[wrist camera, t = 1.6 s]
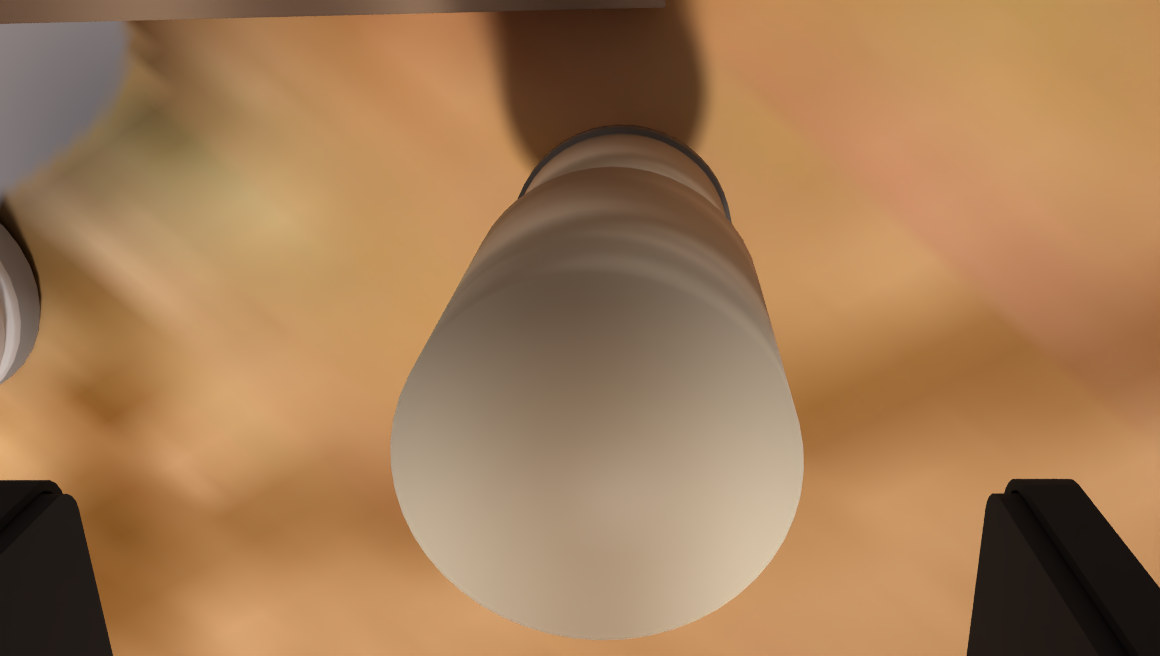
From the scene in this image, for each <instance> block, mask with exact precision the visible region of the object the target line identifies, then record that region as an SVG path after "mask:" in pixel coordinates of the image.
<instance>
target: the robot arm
mask: <svg viewBox="0 0 1160 656" xmlns="http://www.w3.org/2000/svg"><path fill="white" fill-rule="evenodd" d="M0 656H113V654H112V650H111V645H110V641H109V637H108V632H107V628H106V624H105V619H104V615H103V611H102V607H101V602H100V598H99V594H98V589H97V585H96V581H95V577H94V572H93V568H92V564H91V559H90V555H89V551H88V547H87V542H86V538H85V534H84V529H83V525H82V521H81V517H80V512H79V508H78V506H77V503H76V501H75V499H74V498H73V497H72V496H70V495H68V494H63V493H62V490H61V489H60V488H59V487H58V485H57V484H56V483H54V482H52V481H50V480H0ZM967 656H1160V588H1159V587H1158V585H1157V584H1156V583H1155V581H1154V580H1153V579H1152V578H1151V576H1150V575H1149V574H1148V572H1147V571H1146V570H1145V569H1144V567H1143V566H1142V565H1141V564H1140V562H1139V561H1138V560H1137V558H1136V557H1135V556H1134V555H1133V553H1132V552H1131V551H1130V550H1129V548H1128V547H1127V546H1126V544H1125V543H1124V542H1123V541H1122V539H1121V538H1120V537H1119V535H1118V534H1117V533H1116V532H1115V530H1114V529H1113V528H1112V527H1111V525H1110V524H1109V523H1108V521H1107V520H1106V519H1105V518H1104V516H1103V515H1102V514H1101V513H1100V511H1099V510H1098V509H1097V507H1096V506H1095V505H1094V504H1093V502H1092V501H1091V500H1090V498H1089V497H1088V496H1087V495H1086V493H1085V492H1084V491H1083V490H1082V488H1081V487H1080V486H1079V484H1077V483H1076V482H1075V481H1074V480H1072V479H1012V480H1011V481H1010V482H1009V483H1008V485H1007V487H1006V489H1005V493H1004V494H991V495H990V496H989V498H988V501H987V504H986V509H985V517H984V525H983V533H982V540H981V548H980V556H979V564H978V572H977V579H976V587H975V595H974V603H973V611H972V618H971V626H970V634H969V642H968V650H967Z"/></svg>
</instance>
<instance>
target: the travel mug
mask: <svg viewBox="0 0 1160 656" xmlns="http://www.w3.org/2000/svg"><path fill="white" fill-rule="evenodd" d="M39 320H40V304H39V297H38V289H37V285H36V282H35V279H34V276H33V273H32V270H31V267H30V265H29V263H28V261H27V260H26V258H25V256H24V254H23V252H22V250H21V248H20V247H19V245H18V244H17V243H16V241H15V240H14V239H13V237H12V236H11V235H10V234H9V232H8V231H7V230H6V228H5V227H4V226H3V225H2V224H1V223H0V384H1V383H3V382H4V381H6V380H7V379H9V378H10V377H11V376H12V375H13V374H14V373H15V372H16V371H17V370H18V369H19V368H20V367H21V366H22V365H23V364H24V363H25V361H26V359H27V358H28V356H29V354H30V353H31V351H32V349H33V347H34V344H35V341H36V337H37V334H38V331H39Z"/></svg>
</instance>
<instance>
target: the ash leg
mask: <svg viewBox="0 0 1160 656" xmlns="http://www.w3.org/2000/svg"><path fill="white" fill-rule="evenodd" d="M390 445H391V469H392V475H393V480H394V486H395V491H396V494H397V498H398V501H399V504H400V507H401V510H402V513H403V515H404V517H405V519H406V521H407V523H408V526H409V528H410V530H411V532H412V534H413V536H414V537H415V539H416V540H417V542H418V543H419V545H420V546H421V548H422V549H423V551H424V552H425V554H426V555H427V557H428V558H429V559H430V560H431V561H432V562H433V564H434V565H435V566H436V567H437V568H438V569H439V571H440V572H441V573H442V574H443V575H444V576H445V577H446V578H447V579H448V580H450V581H451V582H452V583H453V584H454V585H455V586H456V587H457V588H458V589H459V590H461V591H462V592H463V593H465V594H466V595H467V596H469V597H470V598H472V599H473V600H474V601H476V602H477V603H479V604H480V605H482V606H483V607H485V608H487V609H489V610H491V611H492V612H494V613H496V614H498V615H499V616H501V617H503V618H506V619H508V620H511V621H513V622H515V623H518V624H520V625H522V626H525V627H528V628H531V629H535V630H538V631H541V632H545V633H548V634H553V635H558V636H564V637H569V638H576V639H589V640H620V639H630V638H637V637H644V636H650V635H654V634H658V633H661V632H665V631H669V630H673V629H676V628H678V627H681V626H683V625H686V624H688V623H691V622H694V621H696V620H698V619H700V618H702V617H704V616H706V615H708V614H709V613H711V612H713V611H715V610H717V609H719V608H720V607H721V606H723V605H724V604H726V603H727V602H729V601H730V600H731V599H733V598H734V597H736V596H737V595H738V594H740V593H741V592H742V591H743V590H744V589H745V588H746V587H747V586H748V585H749V584H751V583H752V582H753V581H754V580H755V579H756V578H757V577H758V576H759V574H760V573H761V572H762V571H763V570H764V568H765V567H766V566H767V565H768V564H769V562H770V561H771V560H772V558H773V557H774V555H775V554H776V552H777V551H778V549H779V547H780V546H781V544H782V543H783V541H784V539H785V537H786V535H787V533H788V530H789V528H790V526H791V524H792V521H793V519H794V516H795V513H796V509H797V506H798V502H799V499H800V495H801V488H802V480H803V472H804V464H803V443H802V437H801V431H800V425H799V421H798V417H797V414H796V410H795V407H794V403H793V400H792V396H791V392H790V389H789V385H788V382H787V378H786V375H785V371H784V368H783V364H782V361H781V357H780V354H779V350H778V347H777V343H776V340H775V336H774V333H773V329H772V326H771V322H770V319H769V315H768V312H767V308H766V305H765V301H764V298H763V294H762V291H761V287H760V284H759V280H758V276H757V273H756V270H755V267H754V264H753V261H752V258H751V256H750V254H749V251H748V249H747V247H746V245H745V243H744V241H743V239H742V238H741V236H740V235H739V234H738V232H737V231H736V229H735V228H734V226H733V225H732V223H731V217H730V212H729V208H728V204H727V201H726V198H725V195H724V192H723V190H722V188H721V186H720V184H719V182H718V179H717V178H716V176H715V175H714V173H713V172H712V170H711V169H710V167H709V166H708V165H707V164H706V163H705V162H704V161H703V159H702V158H701V157H700V156H699V155H698V154H696V153H695V152H694V151H693V150H692V149H691V148H689V147H688V146H687V145H685V144H683V143H682V142H680V141H679V140H677V139H675V138H673V137H671V136H669V135H667V134H665V133H663V132H660V131H656V130H653V129H650V128H645V127H640V126H633V125H612V126H603V127H599V128H594V129H590V130H587V131H585V132H582V133H579V134H577V135H575V136H573V137H571V138H569V139H567V140H565V141H564V142H562V143H561V144H559V145H558V146H556V147H555V148H554V149H552V150H551V151H550V152H549V153H548V154H547V155H546V156H545V157H544V158H543V159H542V160H541V161H540V162H539V163H538V165H537V166H536V167H535V168H534V169H533V171H532V173H531V174H530V176H529V177H528V179H527V181H526V182H525V184H524V186H523V188H522V191H521V193H520V195H519V197H518V200H517V201H515V202H514V203H513V204H512V205H511V206H510V207H509V208H508V209H507V210H506V211H504V213H503V214H502V215H501V216H500V217H499V219H498V220H497V221H496V222H495V223H494V225H493V226H492V227H491V229H490V231H489V232H488V234H487V235H486V237H485V239H484V240H483V242H482V244H481V245H480V247H479V249H478V251H477V253H476V254H475V256H474V258H473V260H472V262H471V264H470V265H469V267H468V269H467V271H466V273H465V274H464V276H463V278H462V280H461V282H460V283H459V285H458V287H457V289H456V291H455V292H454V294H453V296H452V298H451V300H450V302H449V303H448V305H447V307H446V309H445V311H444V312H443V314H442V316H441V318H440V320H439V321H438V323H437V325H436V327H435V329H434V330H433V332H432V334H431V336H430V338H429V340H428V341H427V343H426V345H425V347H424V349H423V350H422V352H421V354H420V356H419V358H418V359H417V361H416V363H415V365H414V367H413V368H412V370H411V372H410V374H409V376H408V378H407V381H406V383H405V385H404V388H403V390H402V392H401V394H400V397H399V400H398V404H397V408H396V412H395V415H394V419H393V426H392V435H391V444H390Z"/></svg>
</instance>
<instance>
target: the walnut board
mask: <svg viewBox="0 0 1160 656" xmlns="http://www.w3.org/2000/svg"><path fill="white" fill-rule="evenodd" d="M656 7H665V0H0V24H9V23H50V22H88V21H89V22H90V21H130V20H171V19H211V18H252V17H292V16H333V15H373V14H413V13H454V12H494V11H535V10H575V9H615V8H656Z"/></svg>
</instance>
